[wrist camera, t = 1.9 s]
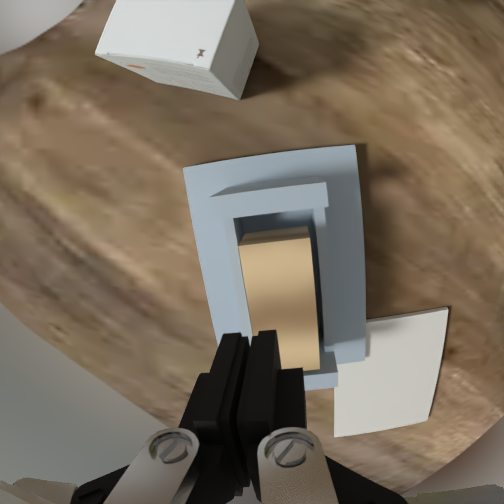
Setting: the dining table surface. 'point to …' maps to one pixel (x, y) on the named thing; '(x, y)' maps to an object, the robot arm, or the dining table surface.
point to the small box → (183, 42)
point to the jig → (279, 217)
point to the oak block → (283, 292)
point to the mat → (391, 374)
